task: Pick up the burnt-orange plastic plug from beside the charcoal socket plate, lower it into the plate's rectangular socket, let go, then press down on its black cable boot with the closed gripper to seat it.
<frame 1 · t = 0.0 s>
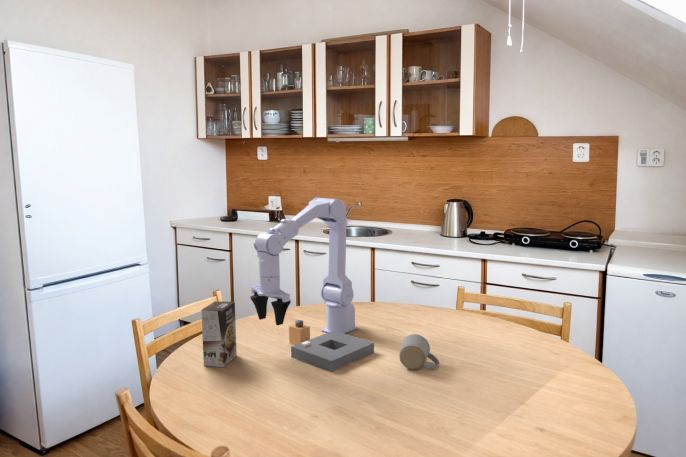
hand: (270, 321, 153), 10 cm above the table, tool pointing down, fingers open, 7 cm apart
ceramic mug: (419, 366, 147), on the table
socket plate: (332, 354, 155), on the table
coffee box: (220, 361, 151), on the table
plug: (299, 343, 164), on the table
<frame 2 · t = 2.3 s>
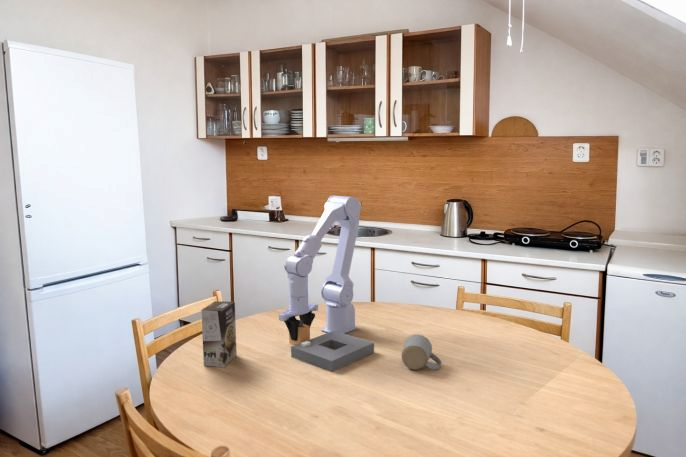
hand: (299, 338, 164), 2 cm above the table, tool pointing down, fingers closed on plug, 4 cm apart
plug: (299, 343, 164), on the table, touching gripper
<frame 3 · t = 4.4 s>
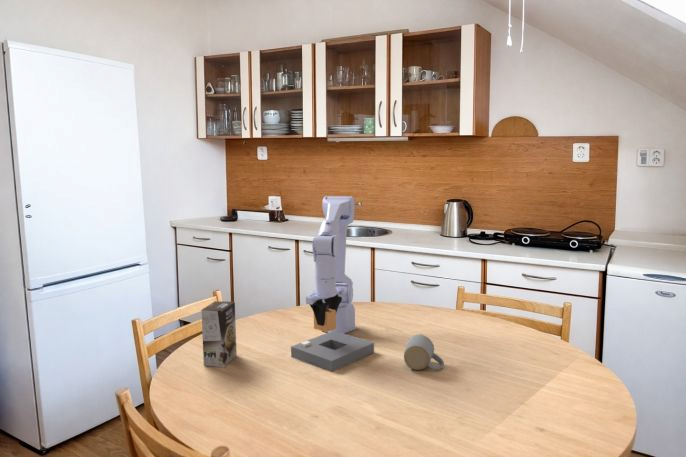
hand: (325, 322, 155), 9 cm above the table, tool pointing down, fingers closed on plug, 4 cm apart
plug: (325, 328, 155), point 7 cm above the table, touching gripper
when the fingers open (3 cm above the table, at t = 6.5 s): plug drops 2 cm, resting in socket plate.
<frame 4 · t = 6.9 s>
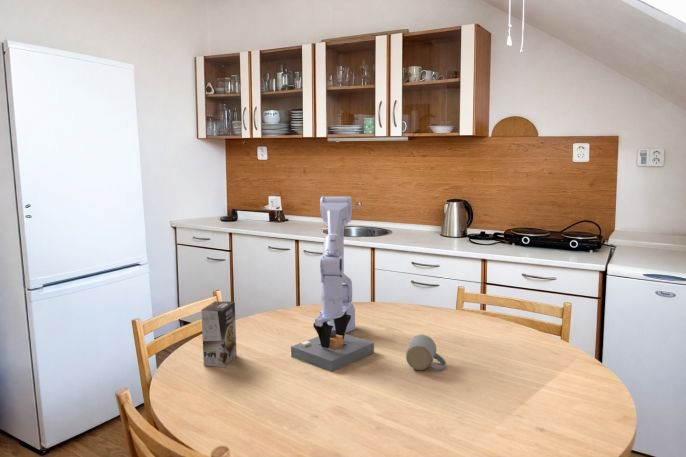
hand: (332, 343, 154), 3 cm above the table, tool pointing down, fingers open, 7 cm apart
plug: (332, 354, 155), resting in socket plate
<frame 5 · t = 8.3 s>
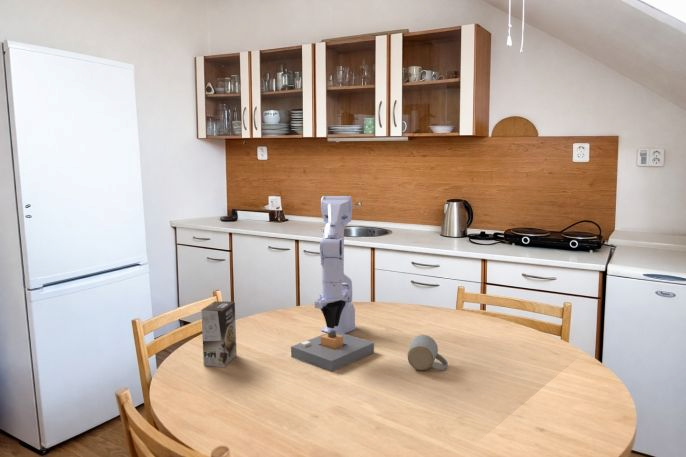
hand: (332, 326, 153), 8 cm above the table, tool pointing down, fingers closed
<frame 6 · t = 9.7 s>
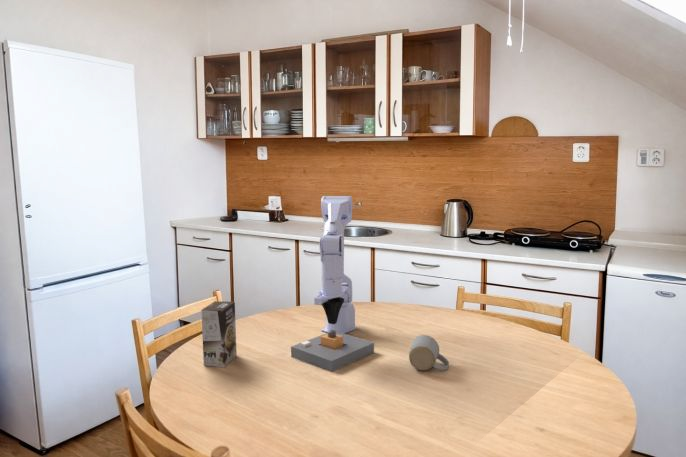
hand: (332, 323, 153), 9 cm above the table, tool pointing down, fingers closed
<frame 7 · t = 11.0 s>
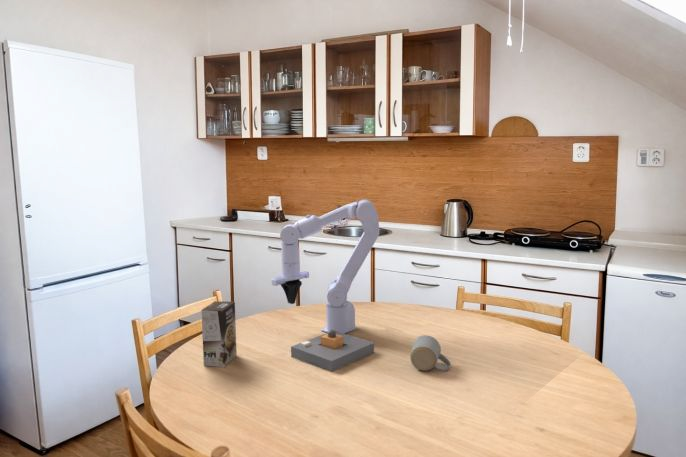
hand: (291, 303, 174), 9 cm above the table, tool pointing down, fingers closed
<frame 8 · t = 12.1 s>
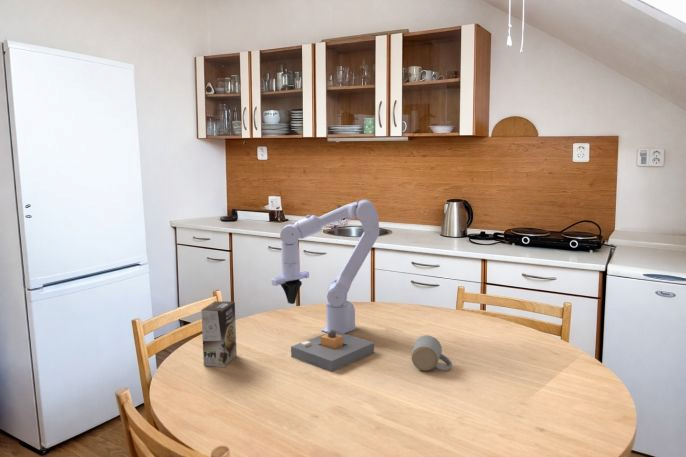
hand: (291, 303, 174), 9 cm above the table, tool pointing down, fingers closed
at the end: plug 0.3 cm off-centre on the socket plate, point 0.0 cm above the socket plate's base; plug tilted 0°; the gripper is holding nothing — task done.
